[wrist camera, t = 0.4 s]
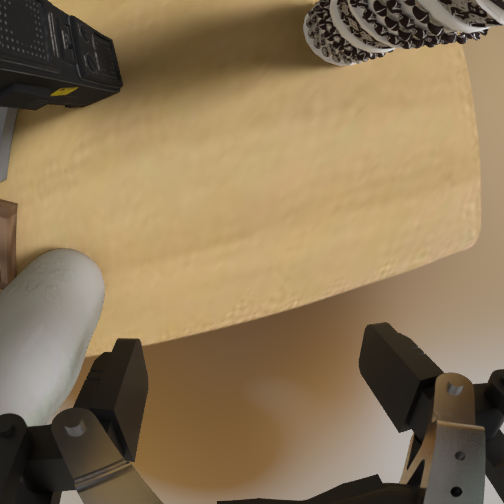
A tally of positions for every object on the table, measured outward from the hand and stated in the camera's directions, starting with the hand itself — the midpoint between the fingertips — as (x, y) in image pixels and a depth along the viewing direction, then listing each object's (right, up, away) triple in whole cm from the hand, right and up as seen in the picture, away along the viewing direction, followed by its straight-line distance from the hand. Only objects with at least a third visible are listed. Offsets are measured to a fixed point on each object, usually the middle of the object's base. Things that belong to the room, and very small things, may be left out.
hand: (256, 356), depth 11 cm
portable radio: (-17, +22, +17) cm, 33 cm away
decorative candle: (+10, +28, +18) cm, 35 cm away
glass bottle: (-22, +1, +25) cm, 33 cm away
